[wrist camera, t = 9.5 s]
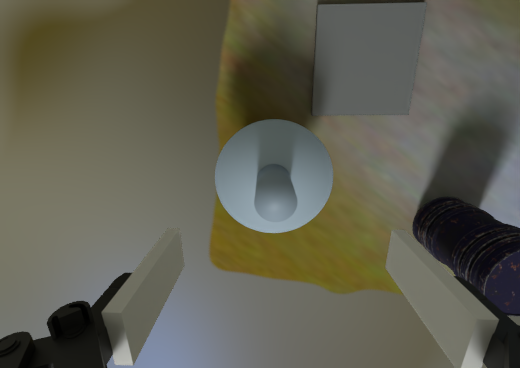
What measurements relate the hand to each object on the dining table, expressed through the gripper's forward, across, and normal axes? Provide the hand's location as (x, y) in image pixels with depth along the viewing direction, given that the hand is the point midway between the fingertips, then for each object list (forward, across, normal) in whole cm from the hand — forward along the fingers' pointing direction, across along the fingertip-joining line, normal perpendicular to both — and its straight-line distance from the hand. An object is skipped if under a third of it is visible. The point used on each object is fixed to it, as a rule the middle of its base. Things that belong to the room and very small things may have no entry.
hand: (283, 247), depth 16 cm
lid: (+16, 0, 0) cm, 16 cm away
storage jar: (+26, +28, -11) cm, 40 cm away
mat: (+26, +12, +14) cm, 32 cm away
